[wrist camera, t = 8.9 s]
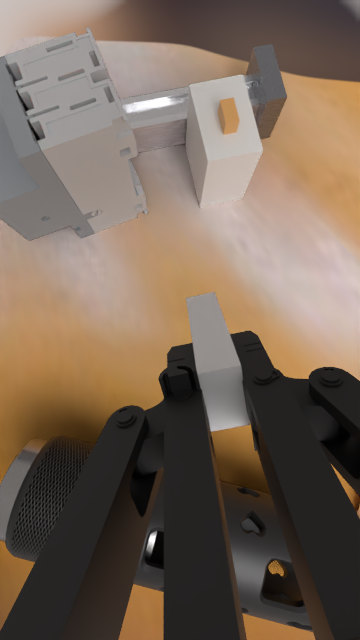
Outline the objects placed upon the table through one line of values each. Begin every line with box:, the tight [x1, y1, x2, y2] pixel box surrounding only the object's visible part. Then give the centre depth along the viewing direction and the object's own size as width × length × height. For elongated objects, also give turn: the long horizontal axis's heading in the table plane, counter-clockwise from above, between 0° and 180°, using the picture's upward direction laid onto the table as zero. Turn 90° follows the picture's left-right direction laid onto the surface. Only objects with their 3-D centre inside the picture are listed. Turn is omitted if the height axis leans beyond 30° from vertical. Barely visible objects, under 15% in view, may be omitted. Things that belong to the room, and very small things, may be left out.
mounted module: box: [185, 74, 263, 208], centre depth 33 cm, size 5×8×10 cm, turn 13°
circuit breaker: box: [0, 27, 148, 241], centre depth 29 cm, size 8×14×15 cm, turn 112°
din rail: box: [120, 44, 287, 153], centre depth 35 cm, size 30×6×6 cm, turn 103°
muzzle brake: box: [0, 436, 313, 632], centre depth 29 cm, size 10×28×10 cm, turn 75°
